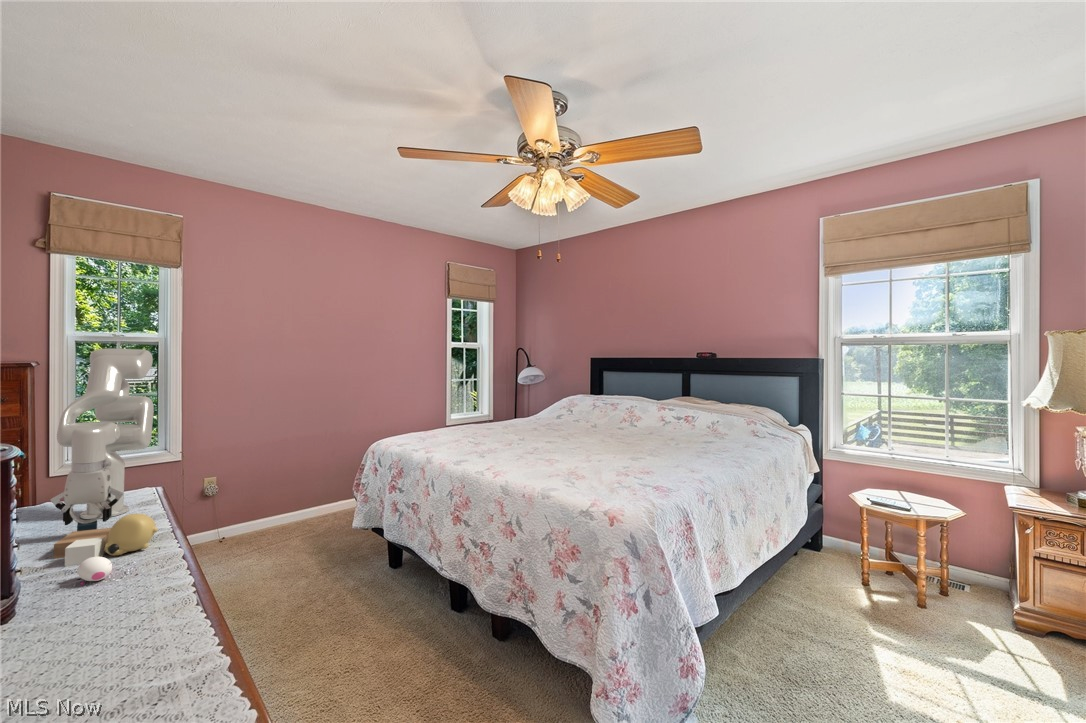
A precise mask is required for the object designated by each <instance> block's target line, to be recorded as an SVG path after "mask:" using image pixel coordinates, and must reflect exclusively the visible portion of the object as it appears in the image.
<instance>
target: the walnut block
mask: <svg viewBox="0 0 1086 723" xmlns="http://www.w3.org/2000/svg"><path fill="white" fill-rule="evenodd" d="M111 528H112V527H106V528H97V529H95V530H85V531H77V530H76V531H71V532H70V533H68V534H67V535H66V536H64V537H63V538H61V539H60V540H58V541H56V542H55V543H54V544H53V559H54V560H55V559H62V558H64V559H65V548H66V547H68V546H69V545H70V544H72V543H73V542H74V541H76V540H82V539H92V538H101V537H104V546H105V544H106V541H108V536H109V532H110V530H111ZM104 551H105V549H104Z"/></svg>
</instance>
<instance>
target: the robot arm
mask: <svg viewBox="0 0 1086 723" xmlns="http://www.w3.org/2000/svg"><path fill="white" fill-rule="evenodd" d="M153 361H154V360H153V355H152V352H151V351H149V350H147V349H140V348H139V349H137V348H134V349H133V348H112V347H111V348H109V347H108V348H98V349H95V350H93V351H92V352H91V353H90V355H89V362H90V363H89V364H90V370H89V374H88V378H87V384H86V388H85V393H84V394H83V395H80V397H78V398H77V399H75V400H74V401H73V402H71V403H70V404H69V405H68V406H66V407H65V409H64V410H63V412H62V413H61V416H60V419H59V422H58V427H57V433H56V440H57V443H58V445H60V446H62V447H67V448H71V462H70V464H71V466H70V468H71V469H70V470H71V471H69V472H68V474H67V477H66V481H65V485H64V490H63V492H61V493H59V494H58V495H55V496H54V497H52V498H50V500H49V501H50V502H51V503H52V504H53V505H54V506H55V508H57V510H60V512H61V513H62V522H63V523H64V526H68V525H70V524H71V523H73V521H74V520H73V518H72V517H71V515H70V513H69V512H70V508H71V505H73V504H75V505H74V506H77V505H86V510H84V511H82V512H81V513H80V514H79V518H81V519H82V520H86V519H92V518H96V517H97V516H99V515H100V513H101V511H99V510H98V509H96V508H95V506H94V505H93V504H92V503H101V504H102V505H103V506H104V507H105V509H103V515H102V516H101V517H100V518H99V519H98V520H100V519H102V522H103V523H105V522H107V521H109V520H110V518H112V517H116V516H121V515H123V514H125V513H127V512H129V510H130V506H128V505H126V504H124V502H125V501H124V499H125V468H126V466H125V460H124V459H123V457H122V456H120V455H119V454H118V453H117V452H121V451H122V452H123V451H139V450H144V449H146V448H148V447H149V446H150V444H151V442H152V435H153V434H152V432H153V423H154V422H153V420H154V403H153V400H152V399H151V398H150V397H148V396H145V395H142V396H140V395H133V396H132V395H130V389H131V386H130V383H129V382H128V381H127V380H140V379H143V378H145V377H146V376H147V374H148V373H149V371H150V370H151V368H152V366H153ZM93 409H95V410H94V415H95V418H96V420H97V421H89V422H87V421H86V422H75V420H76V419H77V418H78V417H79V416H80V415H83V414H84V413H86V412H88V411H90V410H93ZM61 499H63V501H61Z"/></svg>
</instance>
